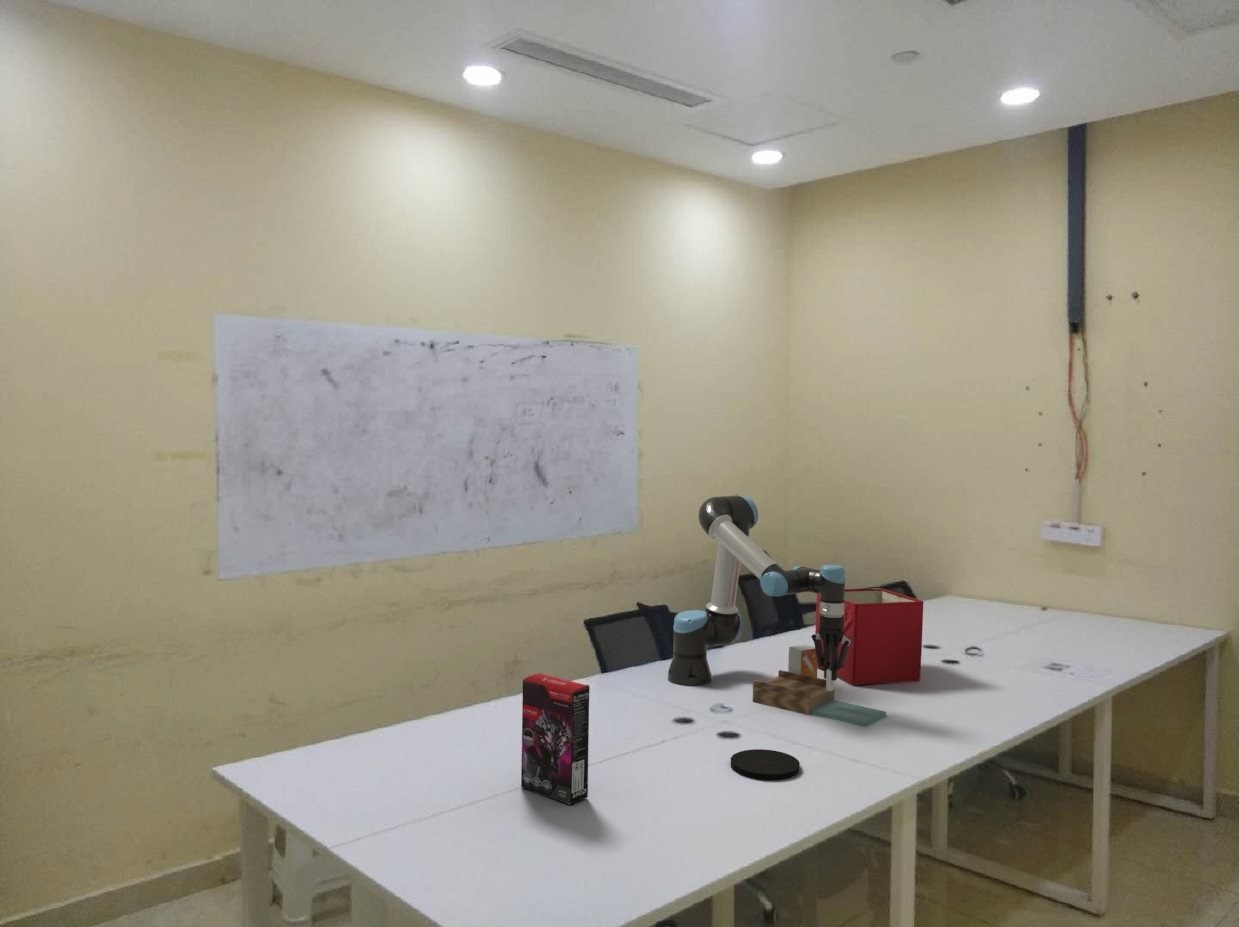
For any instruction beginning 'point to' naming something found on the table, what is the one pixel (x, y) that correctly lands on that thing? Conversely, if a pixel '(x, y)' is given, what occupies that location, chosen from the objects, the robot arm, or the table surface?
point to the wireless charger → (765, 765)
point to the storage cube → (880, 636)
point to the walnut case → (792, 692)
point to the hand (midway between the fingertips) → (830, 689)
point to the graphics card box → (555, 737)
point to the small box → (803, 660)
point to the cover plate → (848, 713)
